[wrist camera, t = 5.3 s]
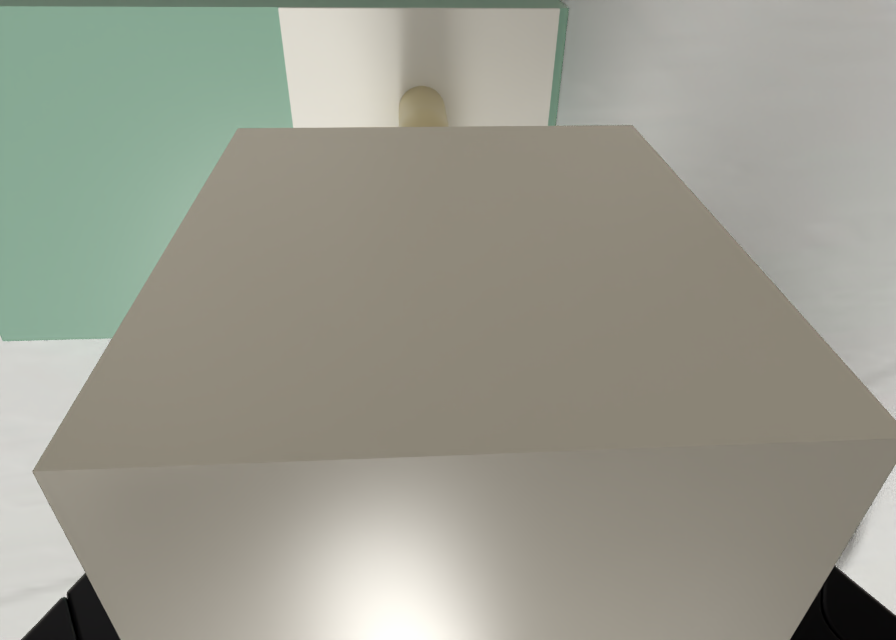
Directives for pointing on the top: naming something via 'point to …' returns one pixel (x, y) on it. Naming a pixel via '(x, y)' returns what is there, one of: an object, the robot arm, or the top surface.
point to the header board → (215, 117)
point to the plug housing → (461, 405)
